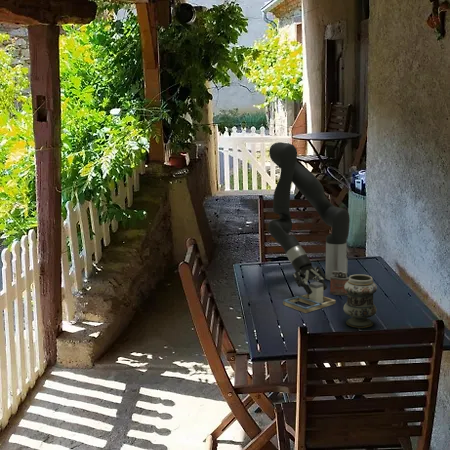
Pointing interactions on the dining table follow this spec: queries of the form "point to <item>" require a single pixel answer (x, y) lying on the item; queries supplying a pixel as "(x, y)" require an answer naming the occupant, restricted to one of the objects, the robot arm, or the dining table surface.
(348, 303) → the apothecary jar
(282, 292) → the dining table surface
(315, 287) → the cream tall block
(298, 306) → the bay tray
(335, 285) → the lighter
